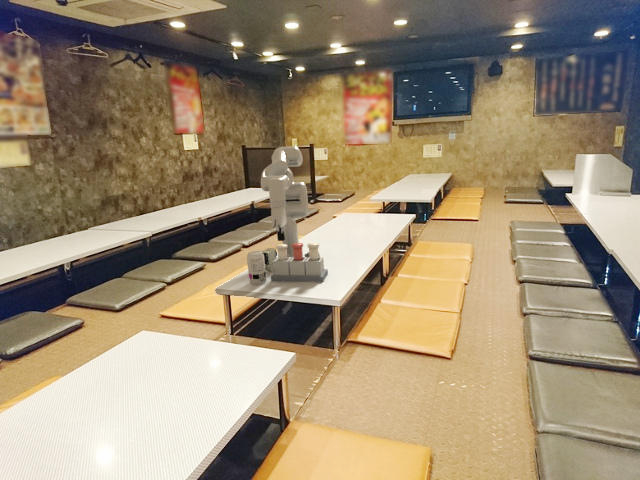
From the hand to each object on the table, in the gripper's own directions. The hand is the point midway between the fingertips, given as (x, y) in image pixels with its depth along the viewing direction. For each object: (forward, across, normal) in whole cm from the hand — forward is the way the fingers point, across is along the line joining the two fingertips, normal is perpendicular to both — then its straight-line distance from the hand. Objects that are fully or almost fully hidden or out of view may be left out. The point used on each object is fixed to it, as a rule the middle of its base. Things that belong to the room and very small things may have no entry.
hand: (281, 240), depth 207 cm
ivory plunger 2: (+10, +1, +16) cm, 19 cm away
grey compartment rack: (+19, +1, +8) cm, 21 cm away
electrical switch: (+20, -17, +11) cm, 28 cm away
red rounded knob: (+10, +1, +8) cm, 13 cm away
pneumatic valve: (+20, -10, -12) cm, 25 cm away
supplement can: (+19, +9, -11) cm, 24 cm away
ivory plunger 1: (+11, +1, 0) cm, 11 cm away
